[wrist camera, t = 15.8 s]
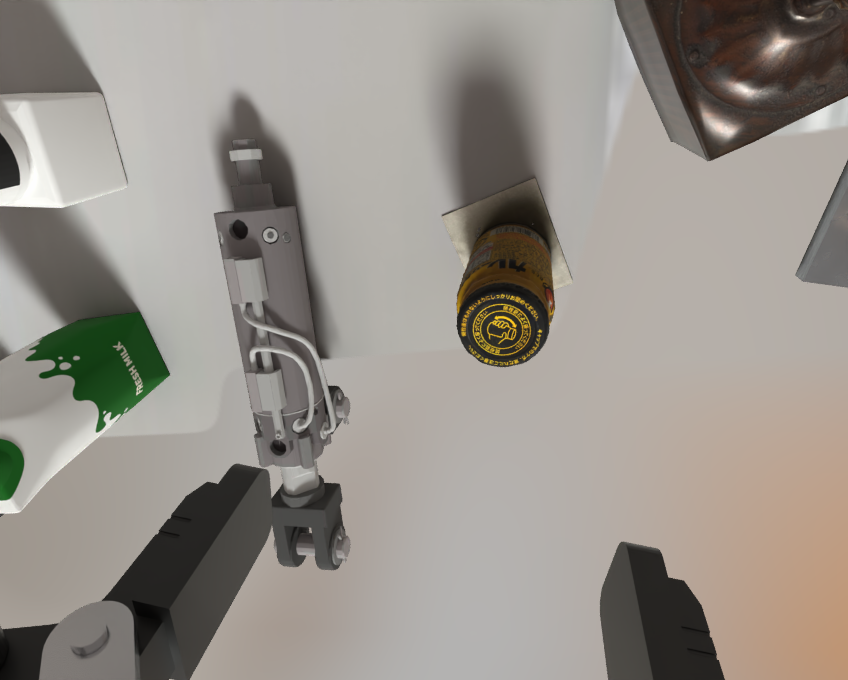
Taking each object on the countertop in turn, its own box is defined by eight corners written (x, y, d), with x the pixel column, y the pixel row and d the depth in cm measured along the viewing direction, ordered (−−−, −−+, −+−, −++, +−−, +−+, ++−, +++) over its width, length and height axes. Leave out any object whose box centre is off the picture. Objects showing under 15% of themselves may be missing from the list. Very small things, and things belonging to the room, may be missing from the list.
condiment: (484, 312, 42) (468, 394, 32) (441, 216, 39) (409, 271, 29) (573, 281, 40) (588, 359, 29) (535, 176, 37) (536, 221, 26)
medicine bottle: (23, 92, 40) (-153, 102, 30) (104, 91, 39) (-50, 102, 29) (55, 186, 44) (-93, 224, 33) (130, 188, 43) (1, 228, 32)
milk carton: (182, 381, 51) (3, 544, 34) (108, 388, 54) (-95, 544, 36) (143, 300, 48) (-79, 436, 30) (65, 311, 50) (-183, 444, 33)
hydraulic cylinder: (306, 520, 54) (260, 593, 45) (243, 147, 43) (164, 142, 34) (373, 524, 53) (339, 601, 43) (325, 139, 42) (266, 131, 32)
